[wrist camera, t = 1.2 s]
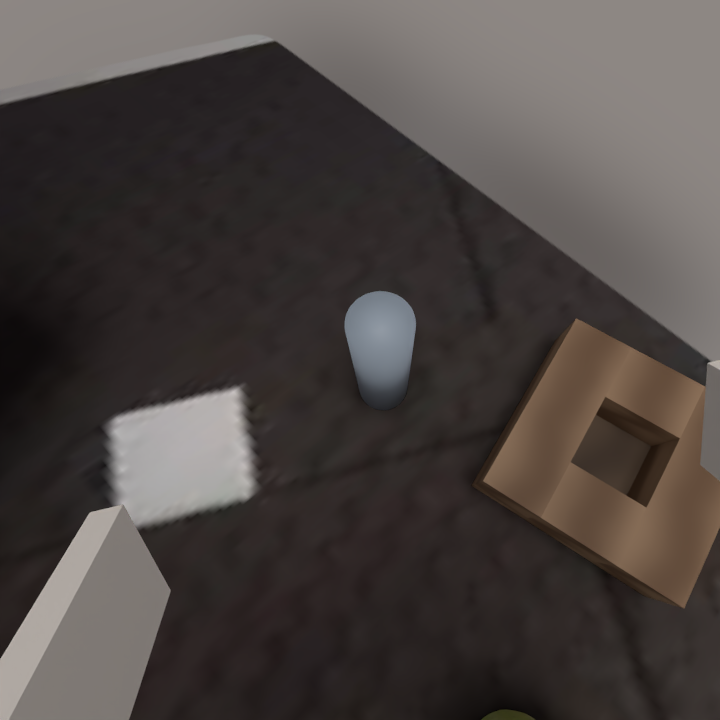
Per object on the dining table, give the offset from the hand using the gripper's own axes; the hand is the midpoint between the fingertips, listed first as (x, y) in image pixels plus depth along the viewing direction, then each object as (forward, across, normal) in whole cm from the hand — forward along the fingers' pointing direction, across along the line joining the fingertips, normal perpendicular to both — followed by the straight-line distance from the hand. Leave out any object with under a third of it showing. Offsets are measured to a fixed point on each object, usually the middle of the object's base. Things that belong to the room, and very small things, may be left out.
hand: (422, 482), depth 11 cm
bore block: (+21, +15, -19) cm, 32 cm away
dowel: (+27, 0, -12) cm, 30 cm away
